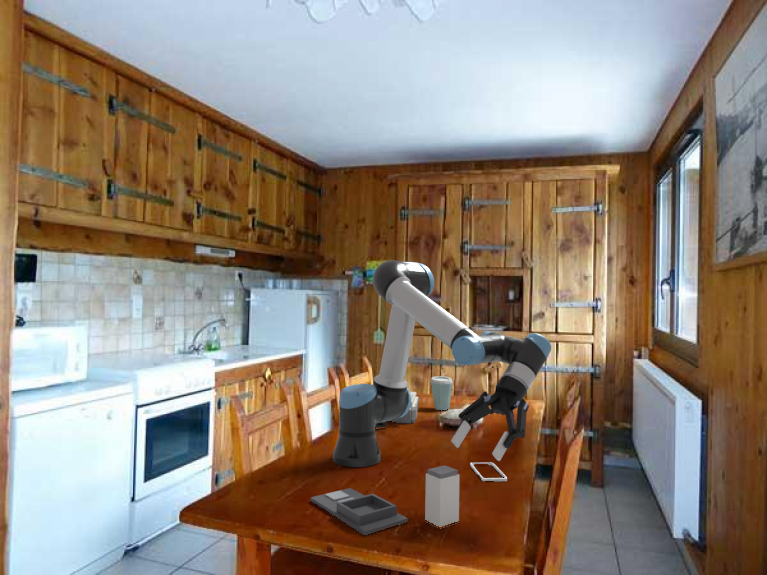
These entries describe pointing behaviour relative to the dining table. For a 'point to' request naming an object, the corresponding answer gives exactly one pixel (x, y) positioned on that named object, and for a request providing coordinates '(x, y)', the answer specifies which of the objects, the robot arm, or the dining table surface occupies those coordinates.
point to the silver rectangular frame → (489, 478)
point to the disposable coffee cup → (441, 392)
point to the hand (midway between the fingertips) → (474, 450)
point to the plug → (442, 496)
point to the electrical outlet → (410, 411)
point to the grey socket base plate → (360, 510)
